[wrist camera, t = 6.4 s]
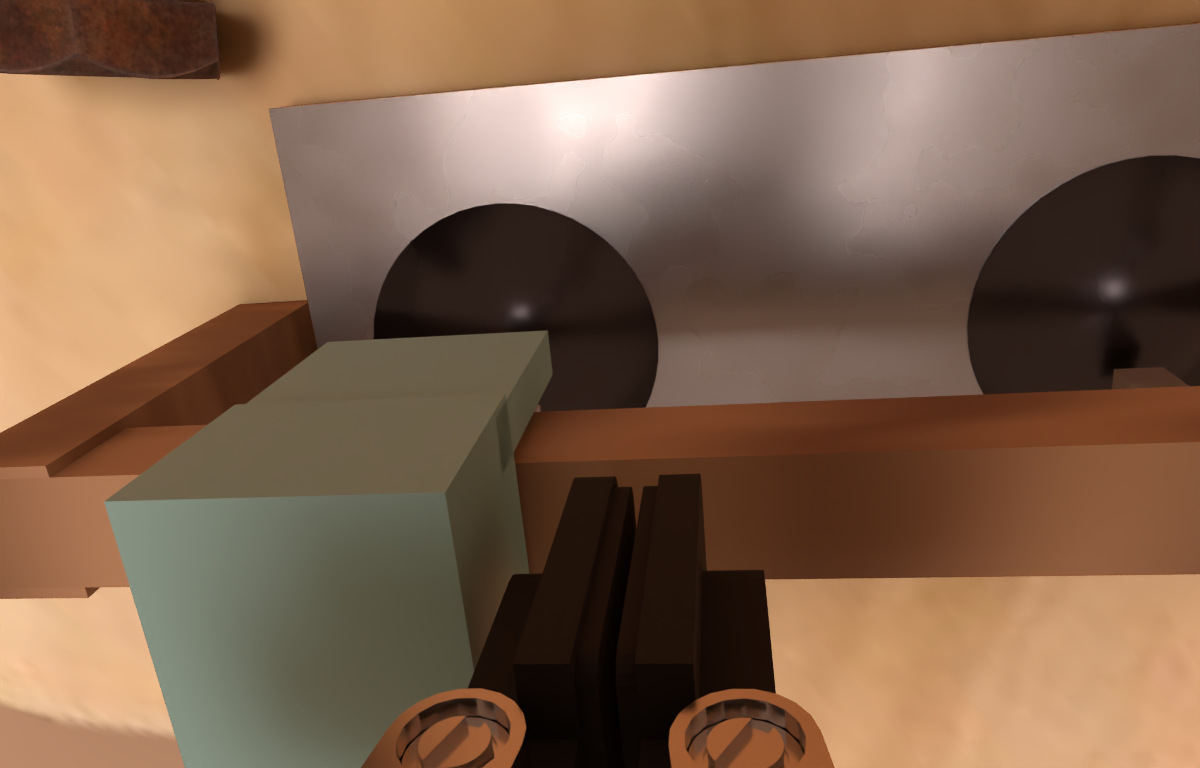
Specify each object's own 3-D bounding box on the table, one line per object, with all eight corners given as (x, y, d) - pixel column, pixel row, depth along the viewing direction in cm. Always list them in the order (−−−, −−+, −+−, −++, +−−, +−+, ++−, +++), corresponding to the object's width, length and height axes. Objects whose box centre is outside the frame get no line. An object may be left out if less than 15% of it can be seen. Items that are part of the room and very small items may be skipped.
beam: (1486, 230, 20) (2181, 395, 10) (1452, 374, 21) (2052, 639, 11) (238, 304, 24) (-68, 469, 14) (265, 421, 25) (-4, 643, 16)
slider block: (587, 258, 20) (444, 491, 10) (604, 436, 22) (497, 812, 11) (417, 269, 21) (103, 501, 10) (445, 442, 23) (196, 804, 12)
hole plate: (1404, 3, 18) (1451, 0, 17) (1303, 527, 22) (1335, 553, 21) (291, 105, 22) (267, 109, 21) (377, 544, 26) (360, 568, 25)
